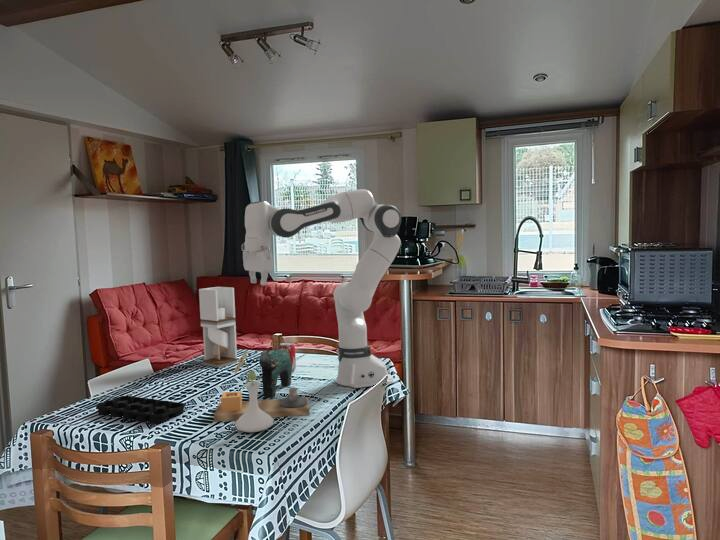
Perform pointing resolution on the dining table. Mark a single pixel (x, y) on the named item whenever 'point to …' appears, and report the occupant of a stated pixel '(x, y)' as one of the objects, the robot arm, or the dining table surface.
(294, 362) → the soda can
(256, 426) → the flower in vase
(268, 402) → the base board
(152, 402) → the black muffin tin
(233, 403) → the orange slotted block
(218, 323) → the white block sculpture
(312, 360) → the dining table surface
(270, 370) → the green animal figurine
